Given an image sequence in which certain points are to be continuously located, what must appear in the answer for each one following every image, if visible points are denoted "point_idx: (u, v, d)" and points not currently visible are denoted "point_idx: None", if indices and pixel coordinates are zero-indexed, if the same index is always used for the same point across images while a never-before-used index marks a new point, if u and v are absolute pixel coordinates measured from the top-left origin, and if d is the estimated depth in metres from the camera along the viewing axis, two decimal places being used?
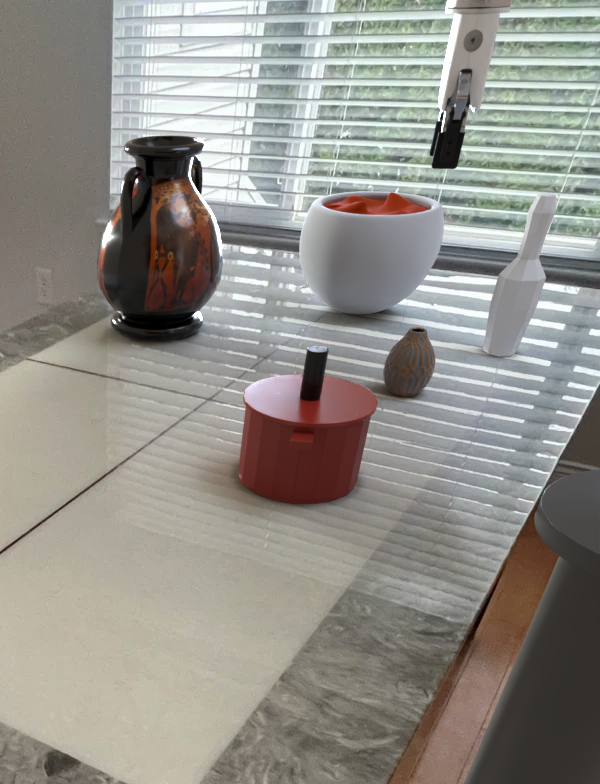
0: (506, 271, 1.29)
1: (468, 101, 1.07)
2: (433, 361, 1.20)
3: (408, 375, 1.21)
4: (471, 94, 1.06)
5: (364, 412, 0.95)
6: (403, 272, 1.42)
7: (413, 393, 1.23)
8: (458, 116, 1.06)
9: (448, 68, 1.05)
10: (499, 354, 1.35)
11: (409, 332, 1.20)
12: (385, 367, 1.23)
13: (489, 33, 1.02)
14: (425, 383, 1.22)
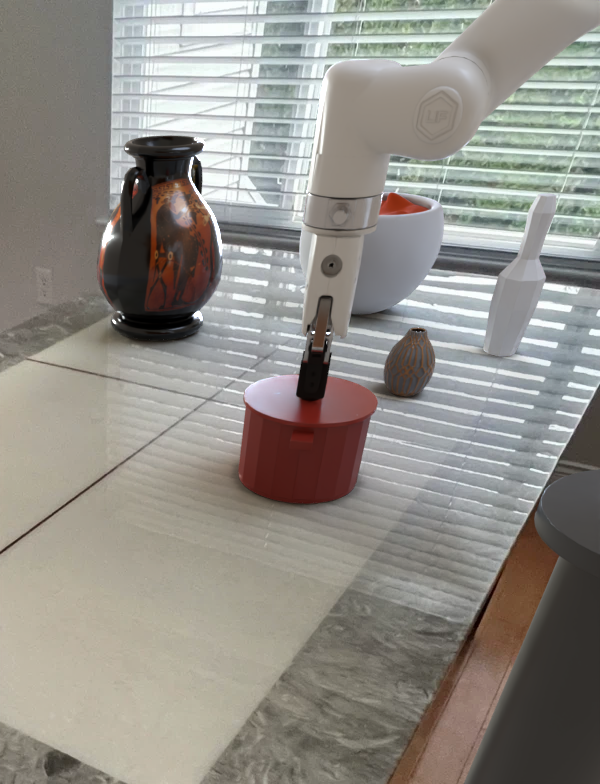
0: (506, 271, 1.29)
1: (331, 333, 0.91)
2: (433, 361, 1.20)
3: (408, 375, 1.21)
4: (334, 322, 0.89)
5: (364, 412, 0.95)
6: (403, 272, 1.42)
7: (413, 393, 1.23)
8: None
9: (306, 292, 0.88)
10: (499, 354, 1.35)
11: (409, 332, 1.20)
12: (385, 367, 1.23)
13: (349, 259, 0.85)
14: (425, 383, 1.22)
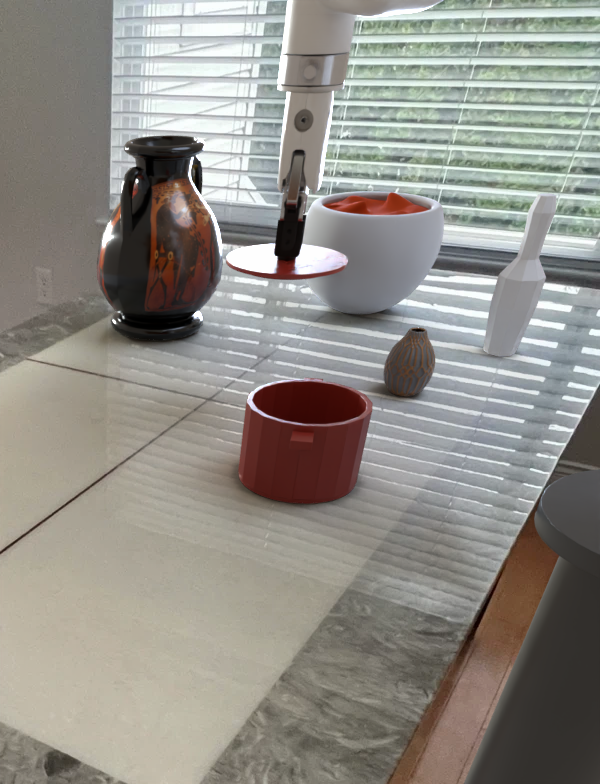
0: (506, 271, 1.29)
1: (305, 190, 1.01)
2: (433, 361, 1.20)
3: (408, 375, 1.21)
4: (306, 176, 0.98)
5: (335, 267, 1.05)
6: (403, 272, 1.42)
7: (413, 393, 1.23)
8: None
9: (281, 148, 0.98)
10: (499, 354, 1.35)
11: (409, 332, 1.20)
12: (385, 367, 1.23)
13: (319, 113, 0.94)
14: (425, 383, 1.22)
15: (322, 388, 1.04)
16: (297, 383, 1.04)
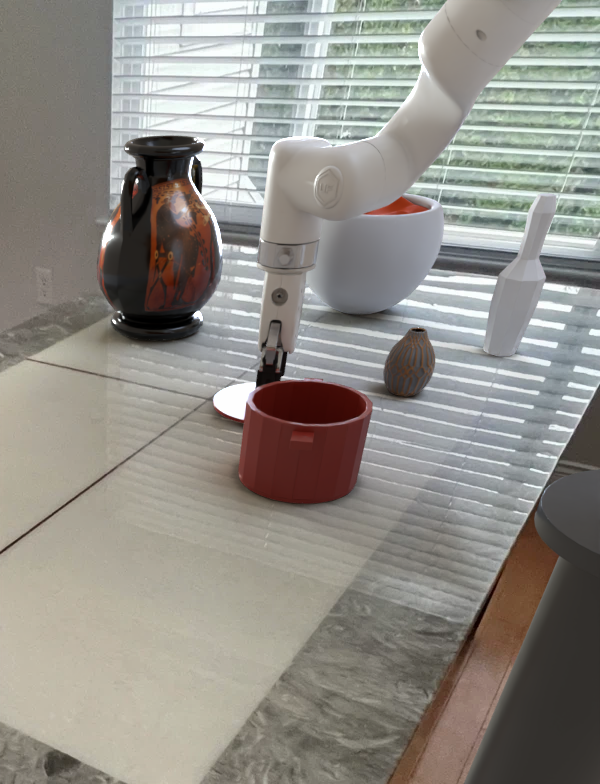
0: (506, 271, 1.29)
1: (282, 345, 1.12)
2: (433, 361, 1.20)
3: (408, 375, 1.21)
4: (283, 341, 1.11)
5: None
6: (403, 272, 1.42)
7: (413, 393, 1.23)
8: (270, 362, 1.10)
9: (260, 317, 1.10)
10: (499, 354, 1.35)
11: (409, 332, 1.20)
12: (385, 367, 1.23)
13: (293, 291, 1.07)
14: (425, 383, 1.22)
15: (322, 388, 1.04)
16: (297, 383, 1.04)
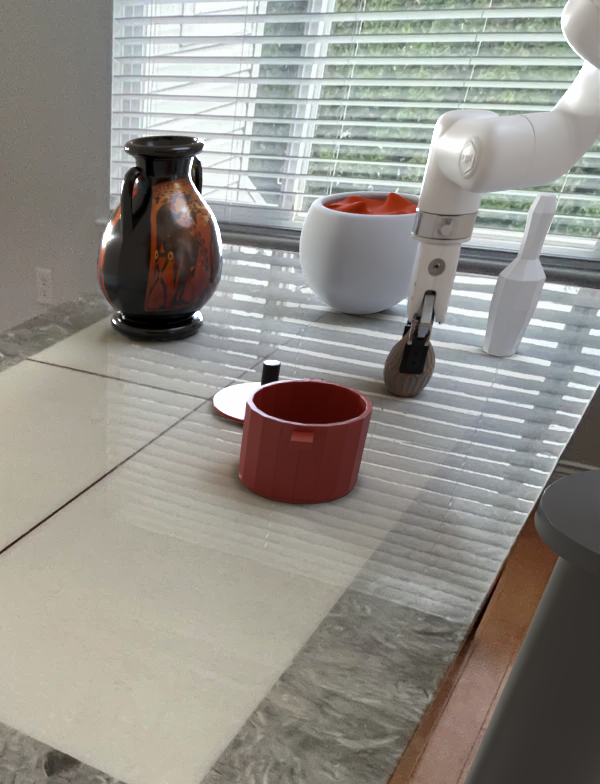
0: (506, 271, 1.29)
1: (432, 318, 1.15)
2: (433, 361, 1.20)
3: (408, 375, 1.21)
4: (436, 311, 1.13)
5: None
6: (403, 272, 1.42)
7: (413, 393, 1.23)
8: (422, 335, 1.14)
9: (414, 287, 1.13)
10: (499, 354, 1.35)
11: (409, 332, 1.20)
12: (385, 367, 1.23)
13: (451, 262, 1.09)
14: (425, 383, 1.22)
15: (322, 388, 1.04)
16: (297, 383, 1.04)
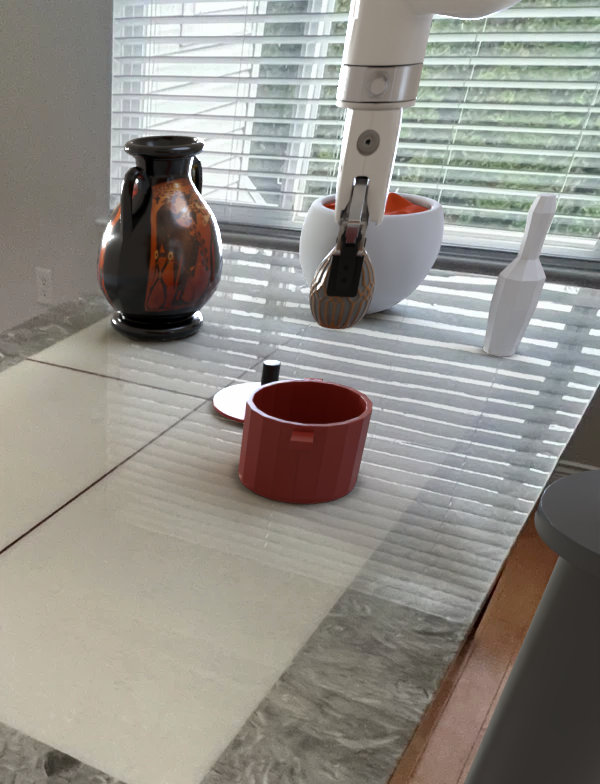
0: (506, 271, 1.29)
1: (366, 218, 0.86)
2: (371, 280, 0.91)
3: (339, 299, 0.92)
4: (369, 206, 0.84)
5: None
6: (403, 272, 1.42)
7: (347, 324, 0.94)
8: (352, 240, 0.85)
9: (340, 174, 0.84)
10: (499, 354, 1.35)
11: None
12: (310, 291, 0.94)
13: (387, 134, 0.80)
14: (362, 311, 0.93)
15: (322, 388, 1.04)
16: (297, 383, 1.04)
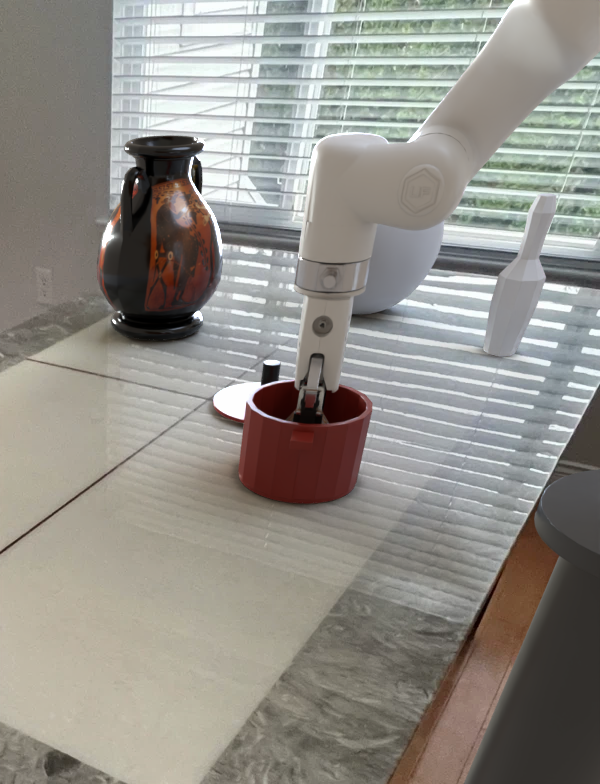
0: (506, 271, 1.29)
1: (324, 383, 0.94)
2: None
3: None
4: (325, 378, 0.92)
5: None
6: (403, 272, 1.42)
7: None
8: (310, 405, 0.93)
9: (298, 349, 0.92)
10: (499, 354, 1.35)
11: None
12: None
13: (339, 320, 0.89)
14: None
15: None
16: None
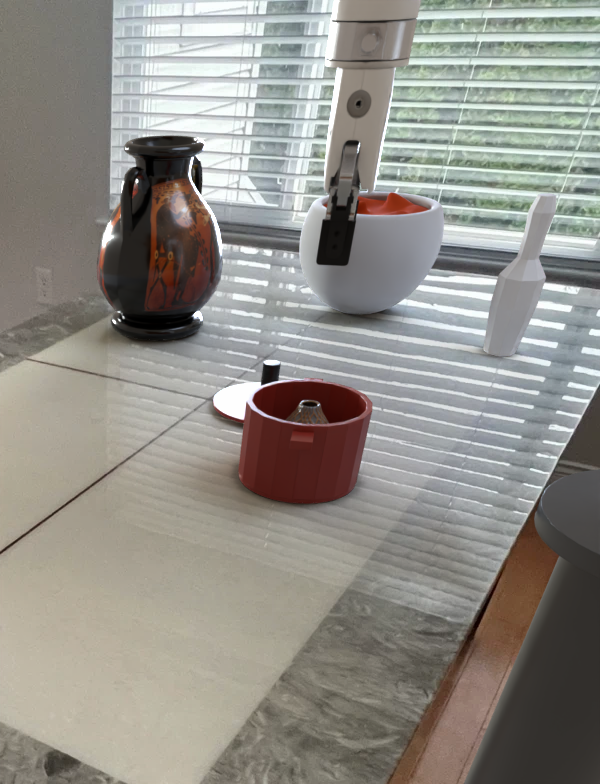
0: (506, 271, 1.29)
1: (358, 181, 0.81)
2: None
3: None
4: (360, 173, 0.80)
5: None
6: (403, 272, 1.42)
7: None
8: (343, 202, 0.79)
9: (329, 138, 0.79)
10: (499, 354, 1.35)
11: (299, 406, 0.99)
12: None
13: (379, 95, 0.76)
14: None
15: (322, 388, 1.04)
16: (297, 383, 1.04)
